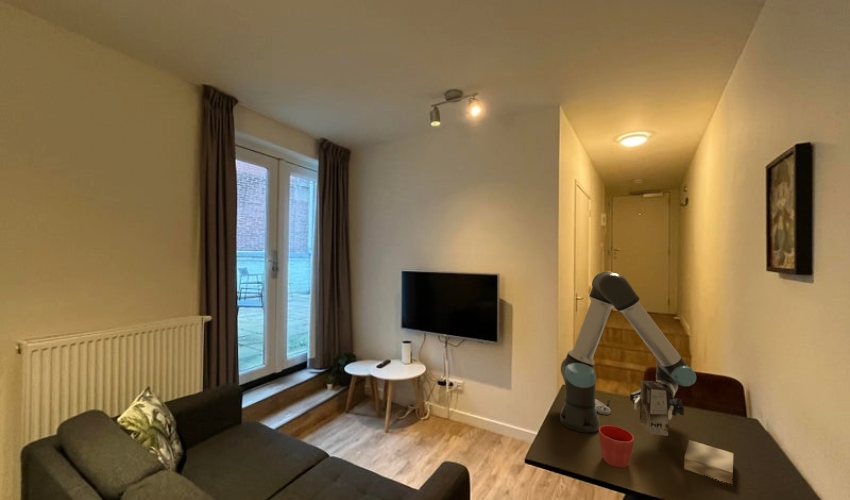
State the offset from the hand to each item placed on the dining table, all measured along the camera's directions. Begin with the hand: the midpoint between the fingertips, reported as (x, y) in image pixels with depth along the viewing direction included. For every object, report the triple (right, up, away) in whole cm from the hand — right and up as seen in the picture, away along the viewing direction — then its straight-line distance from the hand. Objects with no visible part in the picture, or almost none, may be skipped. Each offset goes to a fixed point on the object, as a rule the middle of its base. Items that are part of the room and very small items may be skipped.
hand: (651, 410), depth 125 cm
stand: (+14, -16, -7) cm, 22 cm away
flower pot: (-15, -15, -5) cm, 22 cm away
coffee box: (+3, -8, +3) cm, 9 cm away
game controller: (+1, -16, +37) cm, 40 cm away
